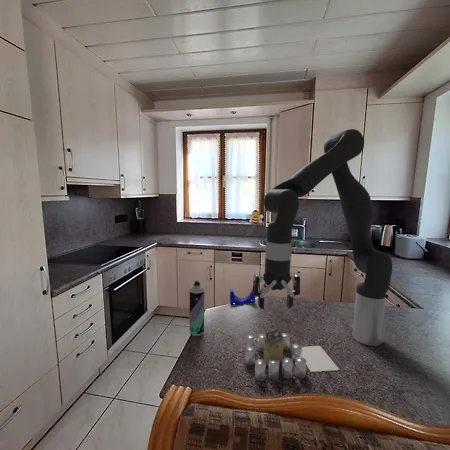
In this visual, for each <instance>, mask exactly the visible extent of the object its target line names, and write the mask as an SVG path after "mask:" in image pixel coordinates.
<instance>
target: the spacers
mask: <svg viewBox="0 0 450 450" xmlns="http://www.w3.org/2000/svg"><path fill="white" fill-rule="evenodd" d="M281 334H283V339H284V343H283V351H289V350H290V341H291V340H290V339H291V337H290V334H289V333H287V332H283V333H282V332H281ZM265 337H266V334H264V333H260V334H259V333H258V335H257V351H259V352H263V353H264V341H265ZM245 341H246V342H245V356H244V357H245V361H244V362H245V365H247V366H250V367H251V366H254V378H255V380H257V381H259V382H262V381H264V380H265V379H266V371H268V375H267V376H268V378H269V380H274V381H276V380H279V377H280V362H279V361H278V360H277V359H270V360H269V366H268V370H267V369H266V367H267V365H266V362H265V361H264V360H263V359H259V358H258V359H256V336H255V335H254V334H247V335H246V337H245ZM302 347H303V346H302V345H300V343H293V344H292V345H291V358H290V357H283V359H282V362H281V377H283V378H284V379H286V378H287V379H286V380H291V379H292V378H293V367H294V375H295V376H296V377H297V378H300V379H304V378H306V375H307V374H306V370H307V366H306V360H305V359H304V358H302V357H301V356H302ZM293 361H294V362H293ZM294 364H295V365H294ZM290 378H291V379H290Z"/></svg>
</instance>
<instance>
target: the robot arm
mask: <svg viewBox="0 0 450 450" xmlns="http://www.w3.org/2000/svg"><path fill="white" fill-rule="evenodd" d="M364 147H365V139H364V136H363V134H362V133H361V131H359V130H358V129H355V128H350V129H345V130H343V131H340V132H338V133H336V134H333V135H331V136H329V137H327V138H326V139H325V141H324V144H323V152H324V153H323V154H322V155H320V156H319V157H317V158H315V159H313V160H311V161H310V162H308V163H307V164H305V165H304V166H303V167H301V168H299V170H298V171H296V173H295V172H294V174H293V175H292V176H291V177H290V178H287V179H285V180H284V181H282V182H281V183H279V184H277V185H276V186H275V185H274V187H272V188H270V189H269V190H268V191H267V193H266V194H265V196H264V198H263V206H264V208H265V209H266V210H267V211H268V212H270V213H273V214H276V217H275V220H274V221H271V222H269V223H268V225H267V228H266V229H267V232H266V233H267V234H266V245H265V255H264V273H263V275H259V274H254V275H253V280H252V281H253V283H252V292H253V294H254V295H255V297H258V298H257V305H258V307H259V308H260V310H265V296H266V294H267V293H269V292H270V291H271V290H272V291H276V290H278V291H283V290H284V291H286V293H287V294H286V305H285V306H286V308H287V309H292V307H293V306H294V297H295V296H300V295H301V276H299V275H298V274H297V273H294V274H293V275H291V262H292V261H291V260H292V259H291V258H292V230H293V229H292V228H293V226H294V224H295V221H296V217H297V214H298V211H299V205H300V199H299V198H302V197H305V196H306V195H308V194H309V193H310V192H311V191H312V190H313V189H314V188H316V187H317V186H318V185H319V184H320V183H321V182H322V181H323V180H325V178H327V177H329V175H331V176H332V177H333V182H334V184H335V187H336V190H337V194H338V196H339V201H340V206H341V210H342V212H343V213H342V215H343V216H344V220H345V224H346V229H347V232H348V235H349V238H350V242H351V243H350V244H351V250H352V251H351V252H352V257H353V263H354V266H355V268H356V269H358V271H360V272H362V273H364V274H365V275H364V280H363V281H364V282H363V281H362V282H359V283H357V285H356V289H355V301H354V313H353V314H354V315H353V323H352V324H353V327H352V338H353V339H354V340H355V341H356V342H358V343H360V344H363V345H365V346H369V347H377V346H380V345H382V344H384V343H385V335H386V327H387V317H386V316H385V307H386V299H387V298H386V297H387V293H388V291H389V289H390V284H391V280H392V273H393V260H392V259H391V256H390V255H388V254H387V253H385V252H382V251H381V250H376V249H375V247H374V243H373V241H372V235H371V230H372V224H373V220H374V216H375V215H374V213H375V212H374V206H373V202H372V199H371V196H370V192H368V190H367V189H366V188H365V187H364V186H363V185H362V184H361V183H360V181H358V180H357V179H356V177H354V175H353V173H352V172H351V170H350V166H349V165H348V162H349V161H351V160H353V159H354V158H356V157H358V156H359V155H360V154H362V152H363V150H364ZM262 281H264V283H263V285H262V286H261V288H260V284H261V283H262ZM290 281H291V282H292V283H293V284H292V285H293V287H292V289H291V288H290V286H289V285H288V284H289V283H290ZM259 288H260V289H259Z"/></svg>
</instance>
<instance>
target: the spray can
mask: <svg viewBox="0 0 450 450" xmlns="http://www.w3.org/2000/svg"><path fill="white" fill-rule="evenodd" d="M204 333H205V286H204V285H202V284H201V283H200V280H194V283H193V284H192V285H191V286H190V287H189V335H191V334H192V335H191V336H194V337H200V336H202V335H204Z"/></svg>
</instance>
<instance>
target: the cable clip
mask: <svg viewBox="0 0 450 450" xmlns="http://www.w3.org/2000/svg"><path fill="white" fill-rule="evenodd" d="M252 289H253V288H252ZM252 289H251V290H250V293H249V295H247V296H245V297H238V296H237V295H236V294H235V291H234V289H229V303H230V304H231V305H230V304H229V305H230V306H243V305H244V304H245V305H246V304H248V303H255V304H256V296H255V295H254V294H253V292H252ZM233 303H235V305H234V304H233ZM243 303H244V304H243Z"/></svg>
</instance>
